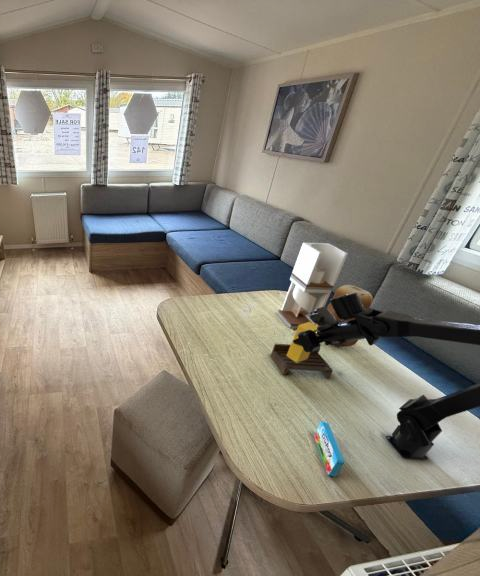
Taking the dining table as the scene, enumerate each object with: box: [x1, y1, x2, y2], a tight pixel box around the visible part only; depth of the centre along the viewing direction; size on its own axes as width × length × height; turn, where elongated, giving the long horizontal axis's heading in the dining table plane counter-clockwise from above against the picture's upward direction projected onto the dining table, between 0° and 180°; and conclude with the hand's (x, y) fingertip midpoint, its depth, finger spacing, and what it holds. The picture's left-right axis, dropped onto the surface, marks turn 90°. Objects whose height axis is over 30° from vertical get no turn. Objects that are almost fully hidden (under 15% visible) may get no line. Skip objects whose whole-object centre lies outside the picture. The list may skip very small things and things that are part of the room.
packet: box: [286, 322, 318, 363], centre depth 104 cm, size 4×6×13 cm
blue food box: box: [313, 420, 345, 478], centre depth 80 cm, size 12×2×6 cm, turn 163°
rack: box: [270, 343, 334, 379], centre depth 111 cm, size 10×16×6 cm, turn 86°
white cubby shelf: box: [277, 241, 349, 329], centre depth 130 cm, size 11×11×35 cm
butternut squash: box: [316, 284, 373, 348], centre depth 119 cm, size 14×13×25 cm
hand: (299, 339), depth 105 cm, fingers closed on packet, 5 cm apart
